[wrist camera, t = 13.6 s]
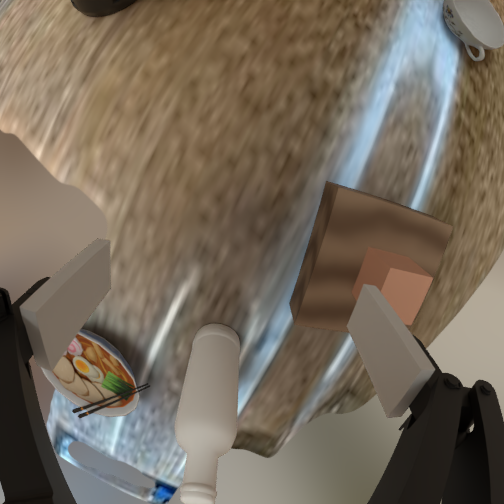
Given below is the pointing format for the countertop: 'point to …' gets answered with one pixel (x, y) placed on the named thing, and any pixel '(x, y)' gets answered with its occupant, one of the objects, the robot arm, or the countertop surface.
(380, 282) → the terracotta cube
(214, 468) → the bottle
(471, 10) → the teacup
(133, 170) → the countertop surface
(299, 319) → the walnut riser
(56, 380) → the ramen bowl
